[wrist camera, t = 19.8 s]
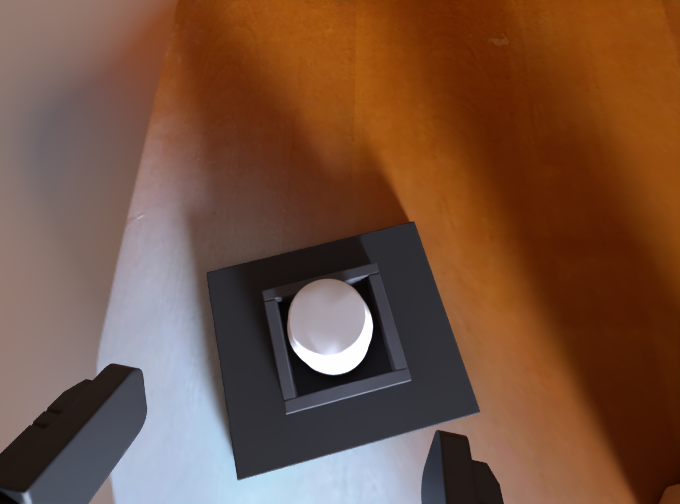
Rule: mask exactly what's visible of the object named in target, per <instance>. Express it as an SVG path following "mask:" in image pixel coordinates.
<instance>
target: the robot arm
mask: <svg viewBox="0 0 680 504" xmlns="http://www.w3.org/2000/svg"><path fill="white" fill-rule="evenodd" d="M146 414H147V404H146V396H145V388H144V379H143V373H142V370H141V369H139V368H134V367H129V366H124V365H119V364H114V363H113V364H110V365H108V366H107V367H105V368H104V369H103V370H102V371H101V372H100V374H99V375H98V376H97V377H96V378H95V379H94V380H87V379H86V380H84V381H82V382H80V383H78V384H77V385H75V386H73V387H72V388H70V389H68V390H66V391H65V392H63V393H62V394H61V395H60V396H59V397H58V398H57V399H56V400H55V401H54V402H53V403H52V404H51V405H50V406H49V407H48V408H47V411H46V412H45V411H44V412H43V413H42V414H41V415H40V416H39V417H38V418H37V419H36V420H35V421H33V424H32V425H29V426H28V427H27V428H26V429H25V430H24V431H23V432H22V433H21V434H20V435H19V436H18V437H17V438H16V439H15V440H14V441H13V442H12V443H11V444H10V445H9V446H8V447H7V448H6V449H5V450H4V451H3V452H2V453H1V454H0V504H88V503H89V502H90V501H91V499H92V498H93V496H94V495H95V493H96V492H97V491H98V490H99V488H100V487H101V485H102V484H103V483H104V481H105V480H106V478H107V477H108V476H109V474H110V473H111V471H112V470H113V469H114V467H115V466H116V464H117V463H118V462H119V460H120V459H121V457H122V456H123V455H124V453H125V452H126V450H127V449H128V448H129V446H130V445H131V443H132V442H133V441H134V439H135V438H136V436H137V435H138V434H139V432H140V430H141V429H142V427H143V424H144V422H145V419H146ZM421 501H422V504H504V502H503V498H502V493H501V489H500V484H499V483H498V481H497V479H496V478H495V476H494V474H493V473H492V471H491V469H490V468H489V466H488V464H487V463H484V462H479V461H474V460H472V458H471V452H470V446H469V441H468V438H467V436H465V435H460V434H455V433H450V432H445V431H440V430H437V431H436V432H435V435H434V438H433V441H432V444H431V447H430V451H429V454H428V457H427V460H426V463H425V467H424V471H423V476H422V486H421Z"/></svg>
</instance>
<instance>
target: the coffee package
mask: <svg viewBox="0 0 680 504" xmlns="http://www.w3.org/2000/svg"><path fill="white" fill-rule="evenodd" d="M661 497H662V498H661V500H660V501H659V503H658V504H680V484H677V485H673V486H668V487H667V488H666V489H665V491H664V493H663V495H662V496H661Z"/></svg>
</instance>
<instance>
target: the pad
mask: <svg viewBox="0 0 680 504" xmlns="http://www.w3.org/2000/svg"><path fill="white" fill-rule="evenodd" d="M206 274H207V280H208V287H209V294H210V300H211V307H212V314H213V320H214V327H215V333H216V340H217V347H218V353H219V360H220V367H221V373H222V380H223V387H224V393H225V400H226V407H227V413H228V420H229V426H230V433H231V440H232V446H233V453H234V460H235V466H236V473H237V479H238V480H242V479H245V478H249V477H252V476H256V475H259V474H263V473H267V472H270V471H274V470H277V469H281V468H284V467H288V466H292V465H295V464H299V463H302V462H306V461H309V460H313V459H317V458H320V457H324V456H327V455H331V454H334V453H338V452H342V451H345V450H349V449H352V448H356V447H359V446H363V445H367V444H370V443H374V442H377V441H381V440H384V439H388V438H392V437H395V436H399V435H402V434H406V433H409V432H413V431H417V430H420V429H424V428H427V427H431V426H434V425H438V424H442V423H445V422H449V421H452V420H456V419H459V418H463V417H467V416H470V415H474V414H477V413H480V410H479V407H478V404H477V401H476V398H475V395H474V392H473V390H472V387H471V384H470V381H469V378H468V375H467V372H466V369H465V366H464V364H463V361H462V358H461V355H460V352H459V349H458V346H457V343H456V341H455V338H454V335H453V332H452V329H451V326H450V323H449V320H448V317H447V315H446V312H445V309H444V306H443V303H442V300H441V297H440V294H439V292H438V289H437V286H436V283H435V280H434V277H433V274H432V271H431V268H430V266H429V263H428V260H427V257H426V254H425V251H424V248H423V245H422V243H421V240H420V237H419V234H418V231H417V228H416V225H415V222H410V223H406V224H402V225H398V226H393V227H389V228H385V229H381V230H377V231H373V232H369V233H365V234H361V235H357V236H353V237H349V238H345V239H341V240H336V241H332V242H328V243H324V244H320V245H316V246H312V247H308V248H304V249H300V250H296V251H292V252H288V253H284V254H280V255H275V256H271V257H267V258H263V259H259V260H255V261H251V262H247V263H243V264H239V265H235V266H231V267H227V268H223V269H218V270H214V271H210V272H207V273H206ZM321 279H335V280H340V281H343V282H345V283H347V284H349V285H350V286H352V287H353V288H354V289H355V290H356V291H357V292H358V293H359V294H360V296H361V297H362V299H363V300H364V302H365V303H366V305H367V306H368V308H369V311H370V314H371V318H372V324H373V327H372V336H371V340H370V343H369V346H368V349H367V352H366V354H365V357H364V358H363V360H362V361H361V363H360V364H359V365H358V366H357V367H356V368H354V369H353V370H351V371H350V372H348V373H346V374H343V375H337V376H331V375H324V374H321V373H319V372H317V371H315V370H314V369H312V368H311V367H310V366H309V365H308V364H307V363H306V362H305V361H303V360H302V359H301V358H300V357H299V356H298V355H297V354H296V352H295V351H294V350H293V348H292V346H291V344H290V341H289V337H288V331H287V324H288V314H289V309H290V306H291V303H292V301H293V299H294V297H295V296H296V294H297V293H298V292H299V291H300V290H301V289H302V288H303V287H305V286H306V285H308V284H309V283H311V282H314V281H317V280H321Z"/></svg>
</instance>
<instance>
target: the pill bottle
mask: <svg viewBox="0 0 680 504" xmlns="http://www.w3.org/2000/svg"><path fill="white" fill-rule="evenodd" d="M372 327H373V324H372V318H371V314H370V311H369V308H368V306H367V305H366V303H365V302H364V300H363V299H362V297H361V296H360V294H359V293H358V292H357V291H356V290H355V289H354V288H353V287H352V286H350V285H349V284H347V283H345V282H343V281H340V280H335V279H321V280H317V281H314V282H311V283H309V284H308V285H306V286H305V287H303V288H302V289H301V290H300V291H299V292H298V293H297V294H296V296H295V297H294V299H293V301H292V303H291V306H290V309H289V314H288V324H287V331H288V337H289V341H290V344H291V346H292V348H293V350H294V351H295V352H296V354H297V355H298V356H299V357H300V358H301V359H302V360H303V361H305V362H306V363H307V364H308V365H309V366H310V367H311V368H312V369H314V370H315V371H317V372H319V373H321V374H324V375H331V376H337V375H343V374H346V373H348V372H350V371H351V370H353V369H354V368H356V367H357V366H358V365H359V364H360V363H361V361H362V360H363V358H364V357H365V354H366V352H367V349H368V346H369V343H370V340H371V336H372Z"/></svg>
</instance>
